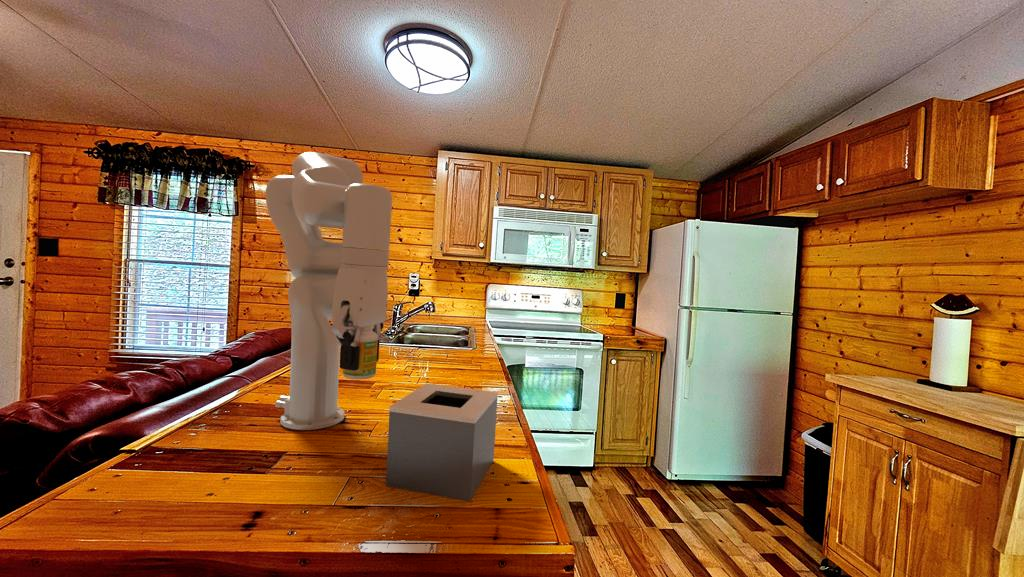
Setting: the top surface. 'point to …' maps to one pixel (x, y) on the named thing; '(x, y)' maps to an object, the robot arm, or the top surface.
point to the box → (441, 440)
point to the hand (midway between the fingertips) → (359, 363)
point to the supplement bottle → (365, 354)
